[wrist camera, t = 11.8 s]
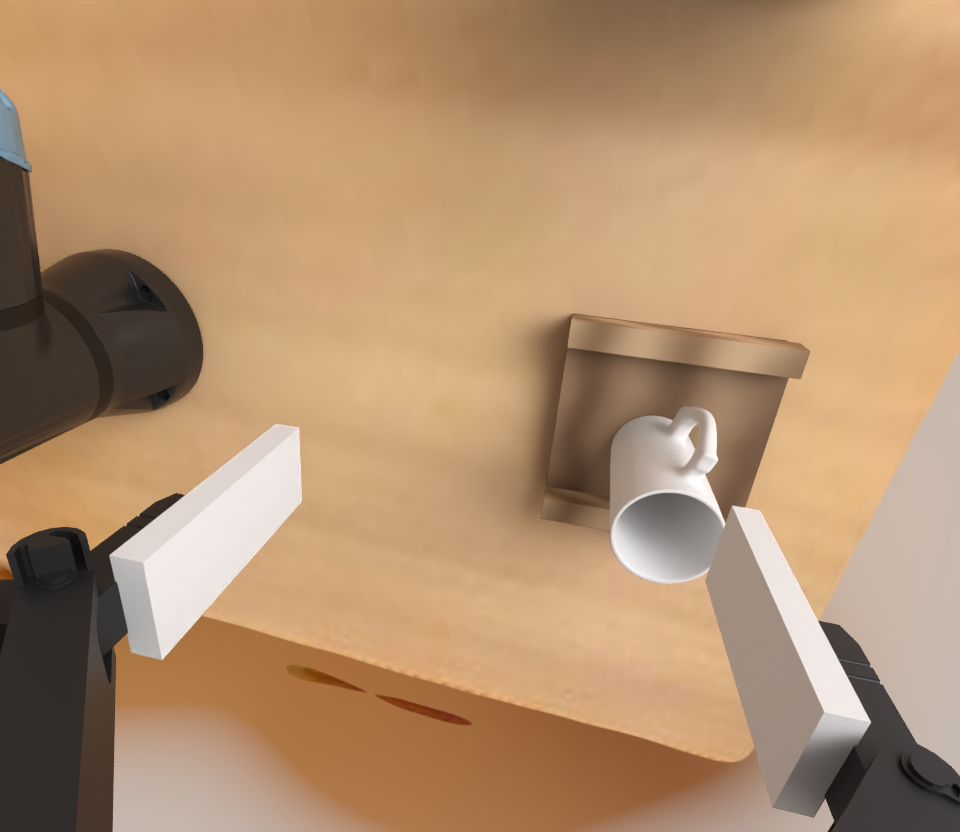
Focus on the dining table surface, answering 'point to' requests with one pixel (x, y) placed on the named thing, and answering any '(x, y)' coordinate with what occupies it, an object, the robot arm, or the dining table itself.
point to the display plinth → (661, 405)
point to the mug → (664, 497)
